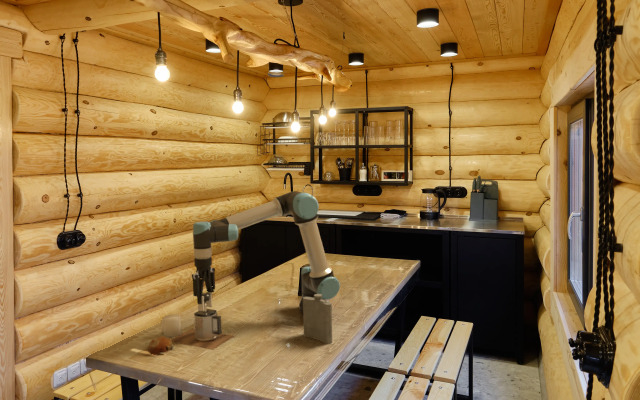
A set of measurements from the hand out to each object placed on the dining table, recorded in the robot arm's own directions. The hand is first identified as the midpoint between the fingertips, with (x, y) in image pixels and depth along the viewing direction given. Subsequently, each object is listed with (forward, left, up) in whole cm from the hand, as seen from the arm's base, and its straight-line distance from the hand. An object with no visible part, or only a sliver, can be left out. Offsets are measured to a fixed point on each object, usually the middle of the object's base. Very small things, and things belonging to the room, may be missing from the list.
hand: (205, 308), depth 219 cm
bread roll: (+10, +17, -15) cm, 25 cm away
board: (+1, +2, -14) cm, 15 cm away
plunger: (0, 0, -11) cm, 11 cm away
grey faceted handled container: (-1, 0, -13) cm, 13 cm away
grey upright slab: (-46, -21, -15) cm, 52 cm away
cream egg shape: (+17, +3, -14) cm, 23 cm away
